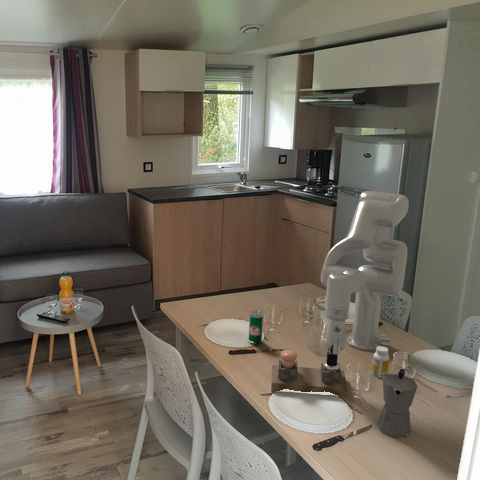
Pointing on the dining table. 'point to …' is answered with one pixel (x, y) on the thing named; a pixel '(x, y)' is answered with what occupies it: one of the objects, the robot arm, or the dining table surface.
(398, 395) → the coffeepot
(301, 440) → the dining table surface
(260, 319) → the soda can
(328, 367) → the grey plunger
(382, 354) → the supplement bottle
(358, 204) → the robot arm
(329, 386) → the panel
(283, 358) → the terracotta plunger
